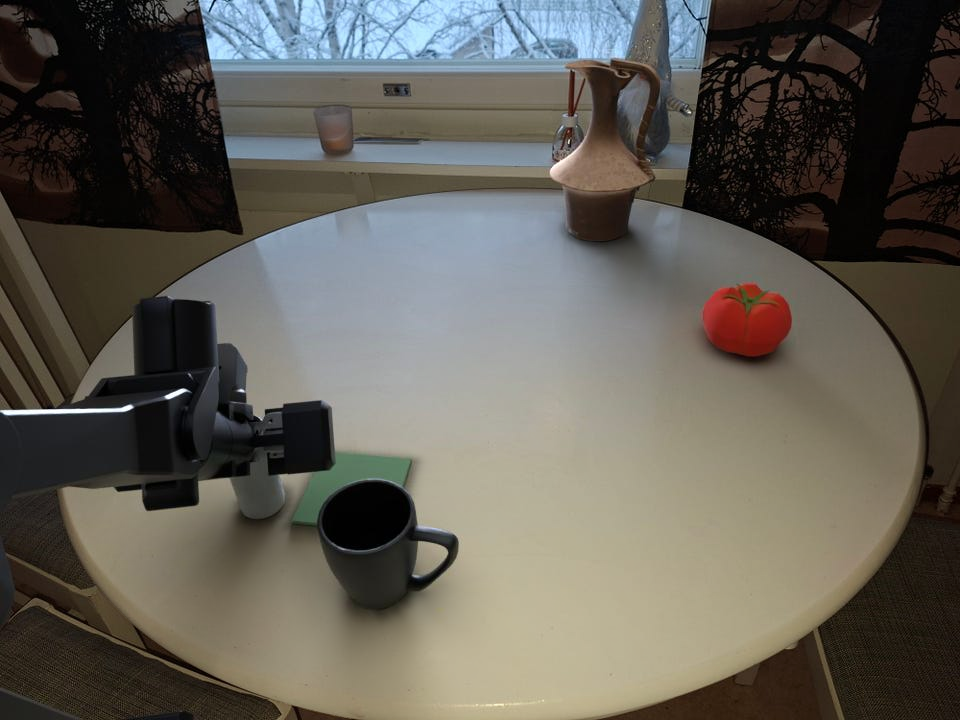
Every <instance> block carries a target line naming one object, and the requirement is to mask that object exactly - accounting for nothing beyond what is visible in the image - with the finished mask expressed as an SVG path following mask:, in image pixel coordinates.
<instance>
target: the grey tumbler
mask: <svg viewBox="0 0 960 720" xmlns="http://www.w3.org/2000/svg"><path fill="white" fill-rule="evenodd" d="M262 420H263V419H262V418H261V417H260V416H258V415H255V414H253V420H249V421H248V423H250V422H260V421H262ZM253 434H254V433H253ZM259 435H264V434H263V431H262V430H261V433H258V431H257V432H256V434H254V436H259ZM255 451H258V454H259V461H258V462H255V463H250V475H251V476H242V477H232V478H229V480H230V484H231V486H232V489H233V491H234V495H235V497H236V500H237V504H238V505H239V508H240V511H241V512H242V514H243V515H244V516H245V517H247V518H249V519H252V520H260V519H261V520H262V519H266V518H269V517H271V516H273V515H275V514H276V513H278V512H279V511H280V510H281V509H282V508H283V506H284V504H285V502H286V494H285V490H284V487H283V483H282V479H281V477H280V475H272V476H268V462H267V453H265V452H264V447H261V448H255V450H254V453H255Z"/></svg>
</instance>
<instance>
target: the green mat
mask: <svg viewBox="0 0 960 720" xmlns="http://www.w3.org/2000/svg"><path fill="white" fill-rule="evenodd" d="M335 460H336V464H335V465H334V466H333V467H332V468H331V470H329V471H319V472H313V475H312V477H311V479H310V481H309V483H308V486H307V488H306V490H305V492H304V494H303V496H302V498H301V499H300V503H299V504H298V507H297V509H296V511H295V513H294V515H293V517H292V519H291V523H292V524H295V525H304V526H316V527H317V519H318V514H319V511H320V509H321V507H322V505H323V503H324V502H325V501H326V500H327V499H328V497H329V496H330V495H331V494H333V493H334V492H335V491H336V490H338V489H340V488H341V487H343V486H345V485H347V484H350V483H352V482H355V481H359V480H364V479H383V480H388V481H391V482H394V483H396V484H398V485H400V486H401V487H403V488H404V487H405V484H406V480H407V477H408V473H409V471H410V468H411V465H412V461H413V460H412V458H408V457H397V456H384V455H374V454H364V453H363V454H362V453H352V452H339V451H335Z"/></svg>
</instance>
